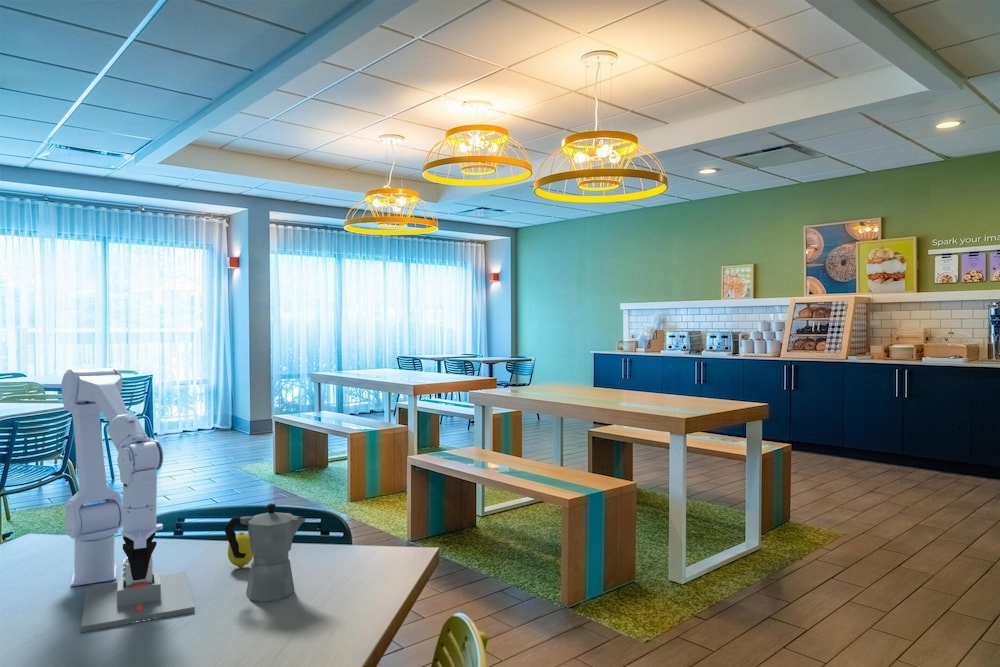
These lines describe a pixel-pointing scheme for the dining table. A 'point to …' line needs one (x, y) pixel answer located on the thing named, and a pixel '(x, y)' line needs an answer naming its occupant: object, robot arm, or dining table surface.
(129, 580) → the white rectangular block
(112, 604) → the jack base
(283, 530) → the coffeepot
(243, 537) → the lemon
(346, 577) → the dining table surface
